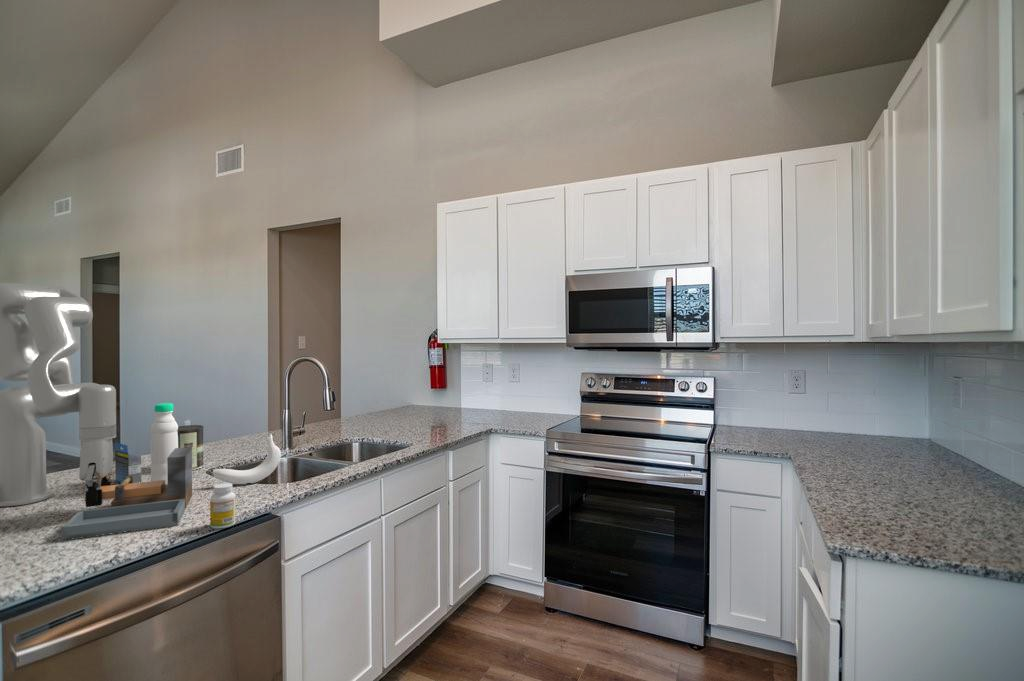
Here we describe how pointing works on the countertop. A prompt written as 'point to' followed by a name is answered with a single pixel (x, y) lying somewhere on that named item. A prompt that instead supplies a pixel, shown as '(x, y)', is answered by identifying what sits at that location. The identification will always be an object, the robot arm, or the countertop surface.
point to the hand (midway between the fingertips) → (98, 500)
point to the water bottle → (162, 440)
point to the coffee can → (192, 442)
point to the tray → (124, 519)
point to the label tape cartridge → (127, 464)
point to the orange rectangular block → (134, 489)
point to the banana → (255, 473)
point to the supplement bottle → (222, 506)
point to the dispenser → (174, 490)
